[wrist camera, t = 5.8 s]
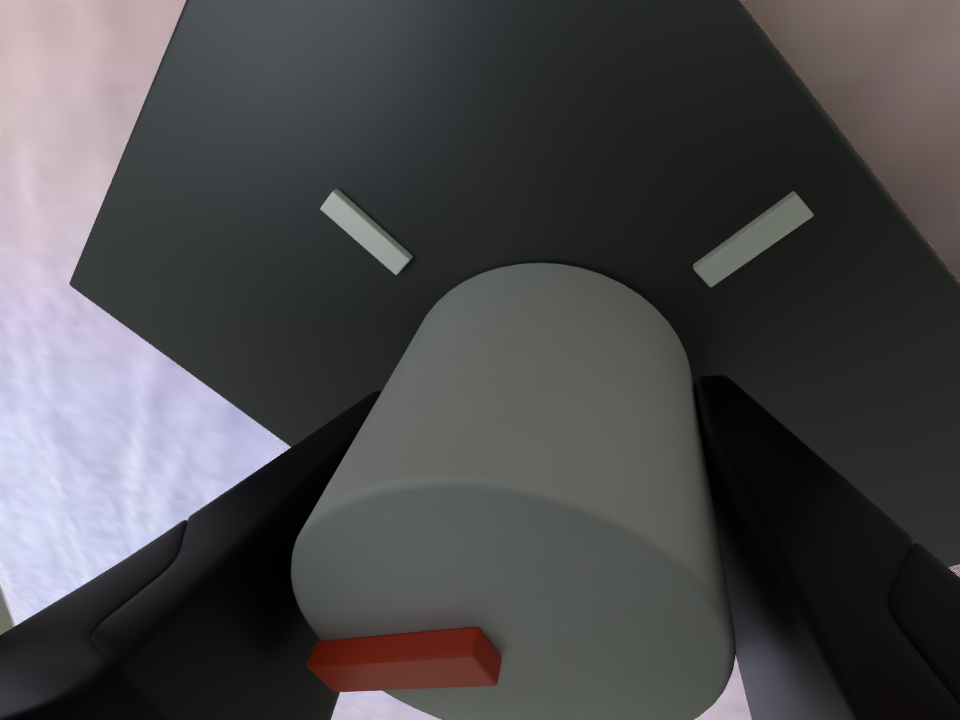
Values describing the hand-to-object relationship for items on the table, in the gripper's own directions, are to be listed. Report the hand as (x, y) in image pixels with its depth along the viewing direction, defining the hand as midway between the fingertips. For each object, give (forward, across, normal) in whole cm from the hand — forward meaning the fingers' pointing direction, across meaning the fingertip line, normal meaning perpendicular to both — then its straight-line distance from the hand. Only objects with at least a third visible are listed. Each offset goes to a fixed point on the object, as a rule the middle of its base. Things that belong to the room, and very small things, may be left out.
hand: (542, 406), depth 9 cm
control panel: (+4, 0, 0) cm, 4 cm away
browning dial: (0, 0, 0) cm, 0 cm away
